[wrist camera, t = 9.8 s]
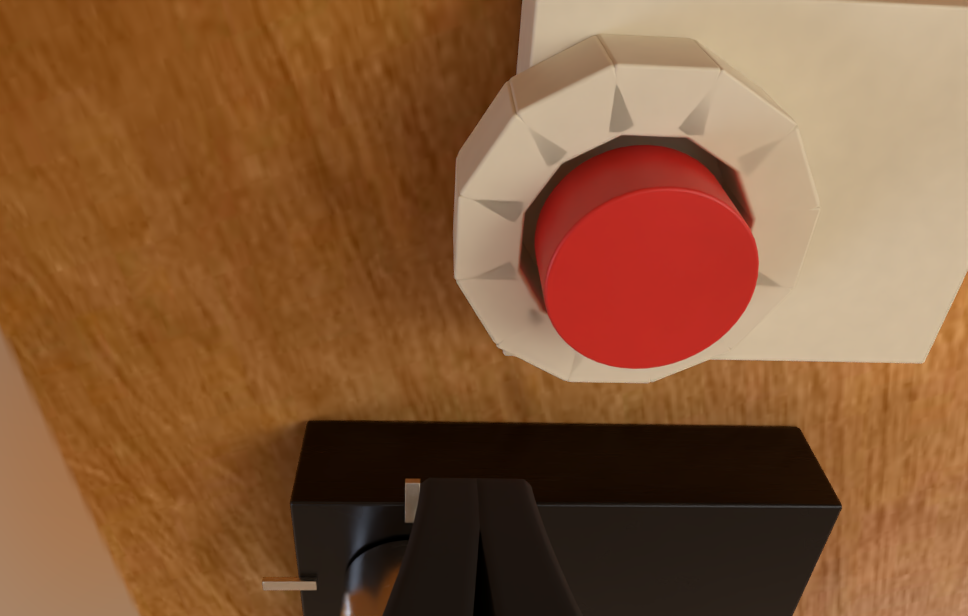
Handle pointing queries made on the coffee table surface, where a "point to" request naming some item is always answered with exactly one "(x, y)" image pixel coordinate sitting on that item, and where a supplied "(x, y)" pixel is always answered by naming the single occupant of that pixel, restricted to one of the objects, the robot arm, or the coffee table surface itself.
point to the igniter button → (643, 258)
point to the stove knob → (371, 579)
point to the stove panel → (583, 508)
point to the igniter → (740, 164)
